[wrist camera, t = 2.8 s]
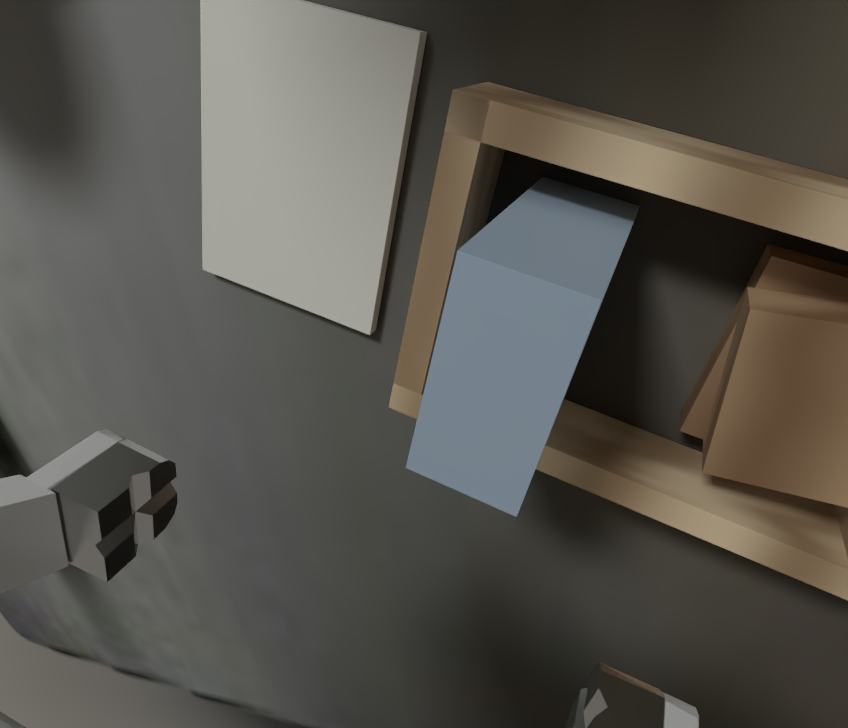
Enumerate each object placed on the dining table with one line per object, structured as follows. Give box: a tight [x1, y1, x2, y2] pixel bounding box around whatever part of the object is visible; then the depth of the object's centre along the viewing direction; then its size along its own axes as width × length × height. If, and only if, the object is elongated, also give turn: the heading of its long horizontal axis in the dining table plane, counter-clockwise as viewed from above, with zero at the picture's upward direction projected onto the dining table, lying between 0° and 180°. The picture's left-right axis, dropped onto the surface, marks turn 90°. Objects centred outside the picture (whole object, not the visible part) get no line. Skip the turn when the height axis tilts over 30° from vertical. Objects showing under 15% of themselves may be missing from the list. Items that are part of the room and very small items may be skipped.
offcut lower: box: [680, 243, 848, 440], centre depth 21 cm, size 5×7×2 cm
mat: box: [200, 0, 427, 335], centre depth 25 cm, size 9×12×1 cm
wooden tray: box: [389, 82, 848, 600], centre depth 21 cm, size 18×12×4 cm, turn 78°
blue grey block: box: [406, 177, 640, 517], centre depth 19 cm, size 4×7×9 cm, turn 168°
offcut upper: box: [702, 287, 848, 508], centre depth 19 cm, size 4×6×2 cm
